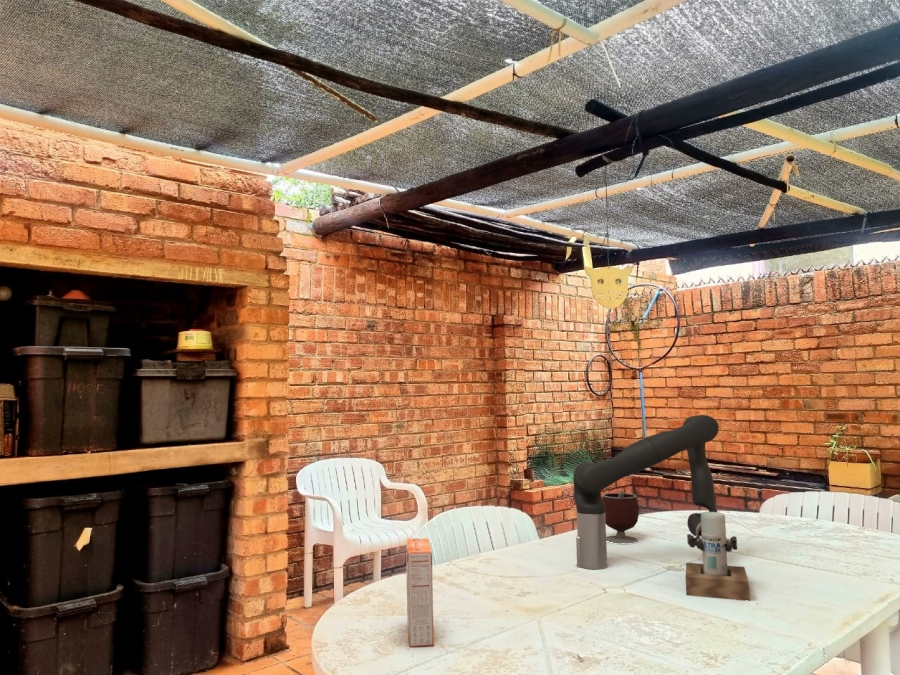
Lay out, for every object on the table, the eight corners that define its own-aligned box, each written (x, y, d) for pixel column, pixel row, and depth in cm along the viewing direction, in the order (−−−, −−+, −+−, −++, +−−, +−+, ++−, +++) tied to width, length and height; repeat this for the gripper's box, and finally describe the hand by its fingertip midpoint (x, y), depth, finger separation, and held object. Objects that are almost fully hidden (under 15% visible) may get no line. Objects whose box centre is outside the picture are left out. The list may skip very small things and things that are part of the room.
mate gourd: (600, 536, 253) (599, 485, 255) (637, 537, 251) (635, 485, 253) (604, 545, 238) (603, 490, 240) (643, 546, 236) (641, 491, 238)
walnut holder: (686, 595, 177) (685, 576, 178) (686, 579, 192) (686, 562, 193) (749, 600, 172) (748, 581, 172) (745, 584, 187) (744, 566, 187)
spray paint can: (700, 585, 182) (696, 514, 184) (709, 580, 187) (705, 510, 189) (723, 590, 178) (719, 516, 179) (732, 584, 183) (728, 513, 184)
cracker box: (406, 625, 156) (405, 538, 158) (430, 624, 157) (430, 537, 159) (407, 648, 142) (406, 551, 144) (434, 646, 143) (433, 550, 145)
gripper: (684, 521, 199) (687, 533, 183) (734, 523, 195) (742, 535, 179) (685, 546, 199) (688, 559, 183) (735, 548, 195) (743, 563, 179)
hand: (715, 547), depth 181 cm, fingers closed on spray paint can, 6 cm apart
